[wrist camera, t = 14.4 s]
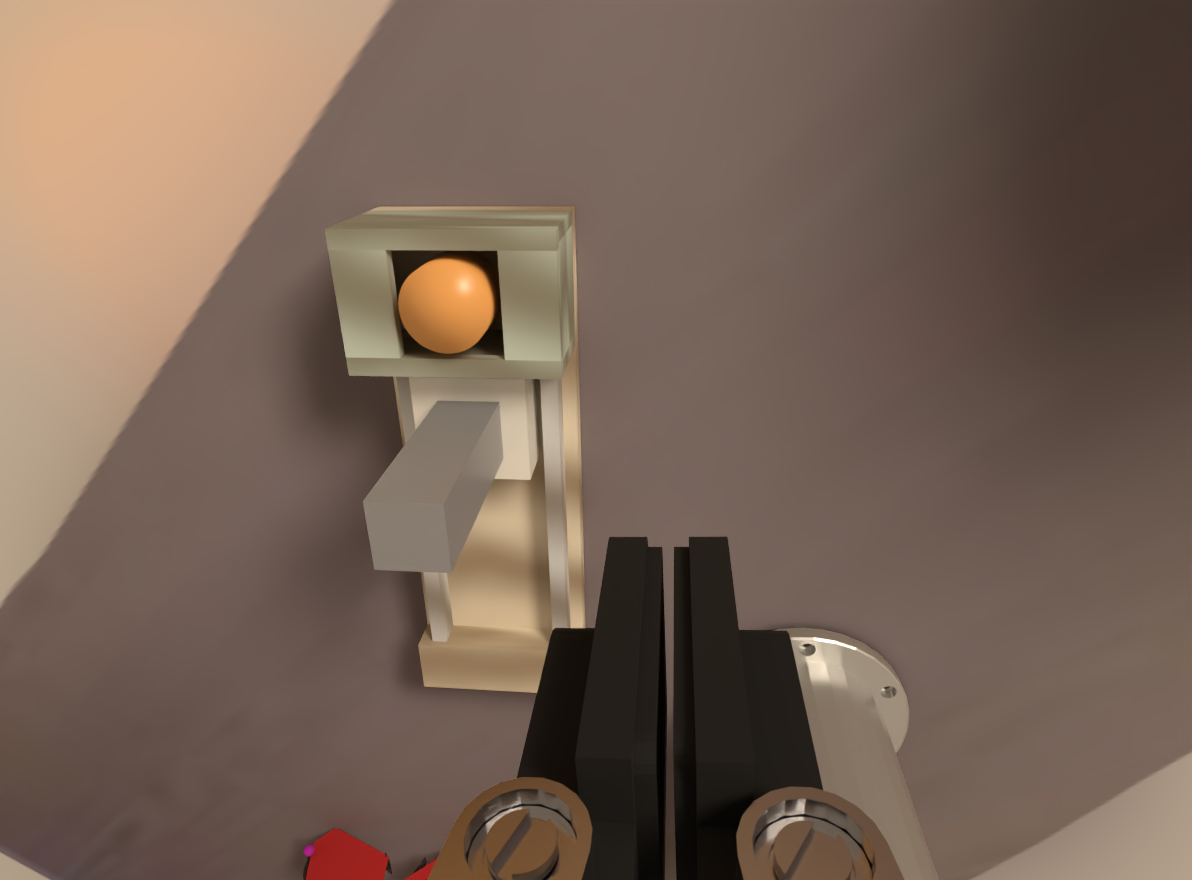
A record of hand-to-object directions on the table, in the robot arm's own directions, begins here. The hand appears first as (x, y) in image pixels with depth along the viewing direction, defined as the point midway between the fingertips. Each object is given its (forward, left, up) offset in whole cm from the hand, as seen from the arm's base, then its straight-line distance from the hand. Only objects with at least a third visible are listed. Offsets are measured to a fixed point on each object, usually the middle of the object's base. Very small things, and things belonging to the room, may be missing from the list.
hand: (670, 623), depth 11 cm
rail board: (-11, +9, -26) cm, 29 cm away
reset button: (-1, +9, -22) cm, 24 cm away
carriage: (-7, +9, -24) cm, 27 cm away
